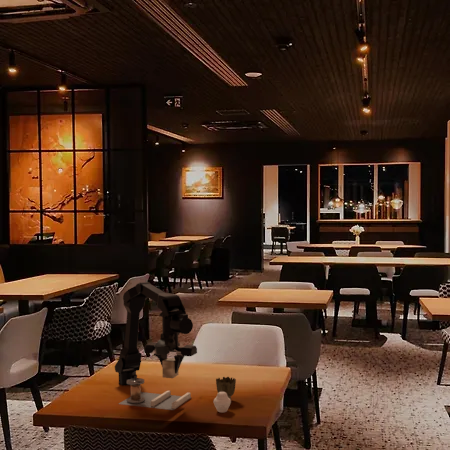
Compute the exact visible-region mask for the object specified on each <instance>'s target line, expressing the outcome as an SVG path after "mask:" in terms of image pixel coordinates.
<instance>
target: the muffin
mask: <svg viewBox="0 0 450 450" xmlns="http://www.w3.org/2000/svg"><path fill="white" fill-rule="evenodd" d="M212 402H213V404H214V407H215V408H216V412H219V413H227V412H228V409H229V408H230V405H231V404H232V400H230V398H228V396H227V393H226V392H219V393H218V392H217V394H216V397H215V398H213V401H212Z"/></svg>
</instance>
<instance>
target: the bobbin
mask: <svg viewBox="0 0 450 450" xmlns="http://www.w3.org/2000/svg"><path fill="white" fill-rule="evenodd" d="M127 384H129V385H128V386H130V396H129V397H128V398H126V399H127V402H128V403H130V404H139V403H143V402H144V401H145V398H144V397H141V392H142V388H141V386H142V385H143V384H145V378H140V377H137V378H132V379H128V380H127Z"/></svg>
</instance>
